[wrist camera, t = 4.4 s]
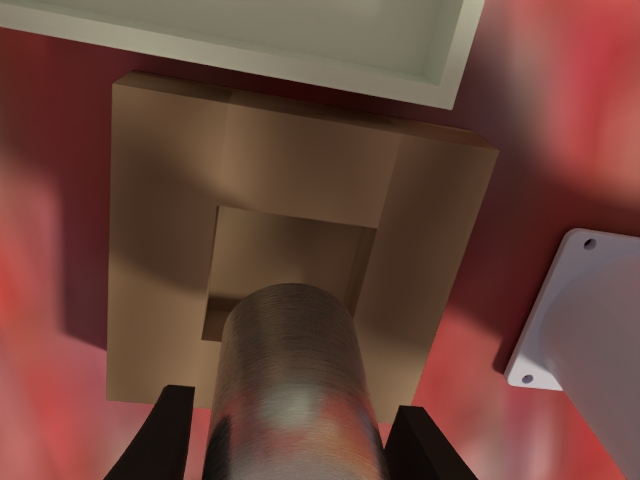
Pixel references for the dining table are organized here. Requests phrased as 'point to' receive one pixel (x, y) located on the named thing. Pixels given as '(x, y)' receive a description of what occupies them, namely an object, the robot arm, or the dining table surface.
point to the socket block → (278, 227)
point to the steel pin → (292, 393)
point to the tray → (282, 38)
